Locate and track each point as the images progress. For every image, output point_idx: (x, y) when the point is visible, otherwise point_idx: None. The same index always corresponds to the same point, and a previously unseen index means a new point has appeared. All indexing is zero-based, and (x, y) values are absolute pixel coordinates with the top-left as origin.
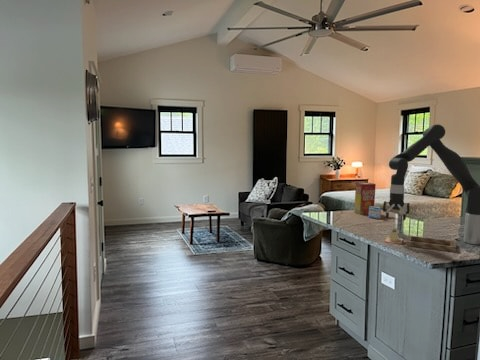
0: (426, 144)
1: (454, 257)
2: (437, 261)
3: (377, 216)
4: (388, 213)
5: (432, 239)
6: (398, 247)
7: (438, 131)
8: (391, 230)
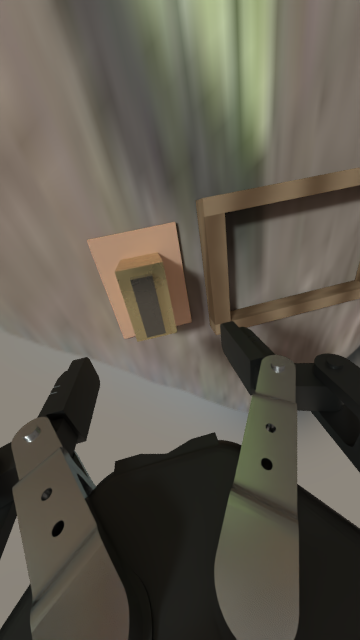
0: None
1: (339, 347)
2: None
3: None
4: (85, 437)
5: (327, 191)
6: (191, 366)
7: None
8: (129, 307)
